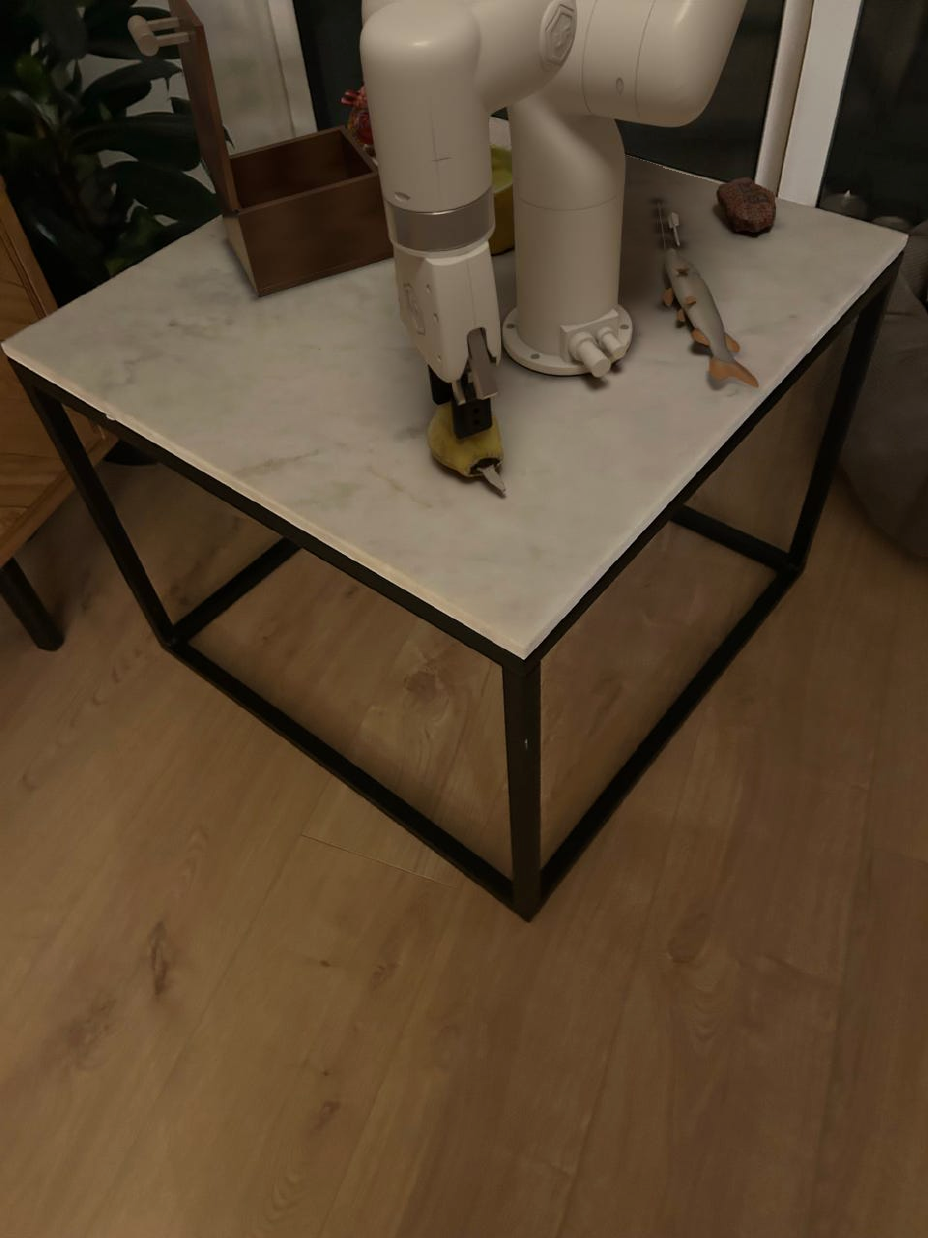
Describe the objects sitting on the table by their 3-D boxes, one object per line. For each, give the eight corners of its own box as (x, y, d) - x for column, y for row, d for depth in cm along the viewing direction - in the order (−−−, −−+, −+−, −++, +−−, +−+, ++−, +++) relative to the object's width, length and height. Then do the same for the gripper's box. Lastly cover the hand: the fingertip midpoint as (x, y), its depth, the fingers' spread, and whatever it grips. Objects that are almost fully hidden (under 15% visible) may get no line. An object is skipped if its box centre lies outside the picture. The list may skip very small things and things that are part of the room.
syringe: (685, 248, 103) (680, 231, 102) (666, 255, 104) (661, 237, 103) (677, 201, 110) (672, 183, 108) (659, 207, 110) (654, 190, 109)
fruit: (475, 516, 81) (404, 442, 85) (527, 496, 85) (457, 425, 89) (493, 464, 77) (418, 388, 81) (547, 445, 80) (472, 373, 84)
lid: (171, -22, 91) (113, -13, 90) (203, 23, 84) (140, 33, 83) (209, 156, 104) (158, 165, 103) (239, 209, 96) (185, 220, 95)
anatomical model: (377, 146, 125) (458, 70, 115) (382, 172, 125) (464, 98, 115) (305, 114, 117) (386, 29, 107) (311, 141, 116) (392, 58, 106)
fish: (639, 265, 101) (681, 273, 103) (702, 400, 89) (748, 406, 90) (658, 227, 98) (701, 235, 99) (726, 361, 85) (773, 368, 87)
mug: (497, 181, 112) (493, 112, 102) (548, 242, 109) (549, 177, 99) (407, 234, 110) (395, 170, 101) (456, 297, 107) (448, 237, 98)
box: (357, 204, 115) (344, 124, 107) (395, 256, 107) (383, 173, 100) (229, 241, 112) (206, 160, 104) (259, 296, 104) (236, 214, 97)
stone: (753, 196, 109) (756, 168, 107) (794, 223, 105) (799, 195, 102) (703, 215, 108) (705, 188, 105) (743, 244, 103) (746, 216, 101)
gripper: (349, 170, 71) (386, 372, 86) (434, 287, 62) (460, 493, 76) (443, 142, 73) (464, 346, 87) (542, 252, 63) (547, 461, 77)
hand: (462, 413), depth 81 cm, fingers closed on fruit, 4 cm apart
